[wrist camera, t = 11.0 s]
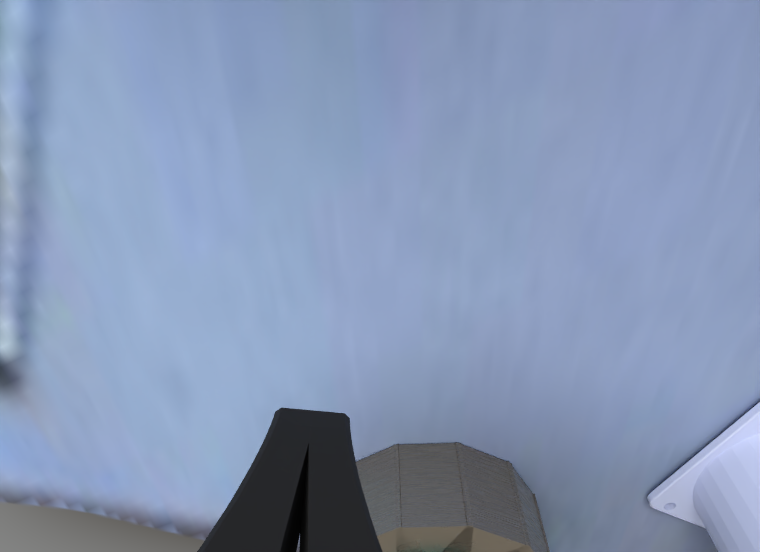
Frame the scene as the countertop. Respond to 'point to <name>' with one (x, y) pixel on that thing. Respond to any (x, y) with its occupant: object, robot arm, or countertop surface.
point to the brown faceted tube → (449, 501)
